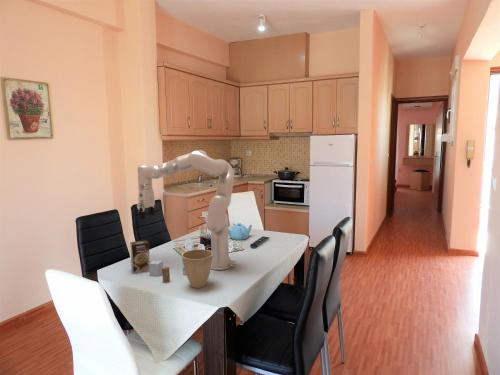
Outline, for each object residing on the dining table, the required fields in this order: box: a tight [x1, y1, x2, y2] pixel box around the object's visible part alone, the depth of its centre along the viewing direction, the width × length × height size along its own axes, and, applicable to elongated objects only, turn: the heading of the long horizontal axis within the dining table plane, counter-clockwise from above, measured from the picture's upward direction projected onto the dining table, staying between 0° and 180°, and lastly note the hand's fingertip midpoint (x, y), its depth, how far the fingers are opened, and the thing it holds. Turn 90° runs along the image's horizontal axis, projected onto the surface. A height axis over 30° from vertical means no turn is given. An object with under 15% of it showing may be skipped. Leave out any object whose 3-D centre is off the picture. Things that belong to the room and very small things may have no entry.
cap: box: [148, 259, 164, 277], centre depth 194 cm, size 5×5×7 cm
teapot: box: [228, 222, 253, 241], centre depth 260 cm, size 15×15×11 cm
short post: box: [182, 266, 187, 276], centre depth 193 cm, size 3×3×4 cm
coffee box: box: [129, 239, 151, 274], centre depth 199 cm, size 9×6×16 cm
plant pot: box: [181, 248, 213, 289], centre depth 177 cm, size 15×15×16 cm
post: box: [161, 266, 171, 283], centre depth 183 cm, size 3×3×7 cm
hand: (147, 216), depth 206 cm, fingers open, 9 cm apart
